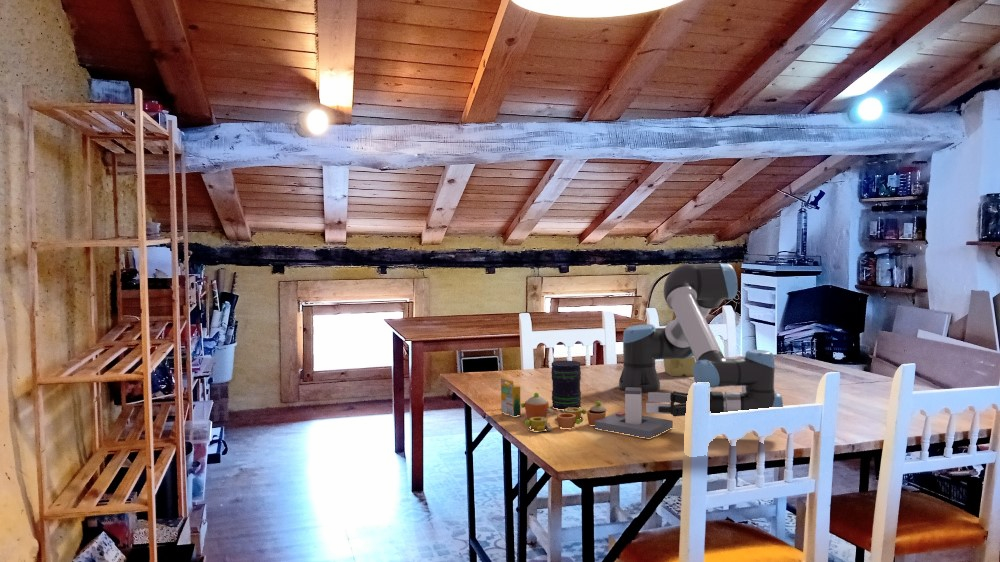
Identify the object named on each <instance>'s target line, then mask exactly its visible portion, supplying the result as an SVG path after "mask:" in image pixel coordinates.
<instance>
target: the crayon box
mask: <svg viewBox="0 0 1000 562" xmlns="http://www.w3.org/2000/svg"><path fill="white" fill-rule="evenodd" d="M505 382H506V383H505ZM500 387H501V389H500V390H501V392H500V396H501V398H500V399H501V400H500V401H501V403H500V404H501V405H500V406H501V408H500V409H501V412H504V413H506V414H509V415H512V416H517V415H521V386H520V385H515V384H514V381H512V380H508V379H506V378H505V379H504V378H503V377H502V378H500Z"/></svg>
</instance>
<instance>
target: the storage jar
mask: <svg viewBox="0 0 1000 562" xmlns="http://www.w3.org/2000/svg"><path fill="white" fill-rule="evenodd" d="M581 369H582V368H581V362H580V361H576V360H557V361H552V362H551V372H550V373H551V381H552V391H551V401H552V402H551V403H552V405H551V407H552V406H553V407H554V408H558V409H566V408H568V407H569V408H579V407H581V408H582V405H581V404H582V391H581V379H582V376H581V375H582V371H581Z"/></svg>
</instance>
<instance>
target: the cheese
mask: <svg viewBox="0 0 1000 562" xmlns="http://www.w3.org/2000/svg"><path fill="white" fill-rule="evenodd" d="M695 362H696V359H695V357H694V355H693V356H692V357H690V358H684V359H679V358H678V359H663V367H664V372H665V373H667V375H669V376H670V377H682V376H686V377H694V375H693V366H694V363H695Z"/></svg>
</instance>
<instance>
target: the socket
mask: <svg viewBox="0 0 1000 562" xmlns="http://www.w3.org/2000/svg"><path fill="white" fill-rule="evenodd" d="M673 421H674V420H671V419H666V418H659V417H655V416H654V417H653V416H647V415H642V423H641V424H639V425H634V424H629V423H625V411H617V412H615V413H612V414H610V415H607V416H605V418H603V419H599V420H596V421H594V423H595V427H594V429H595V428H598V429H602V430H608V431H614V432H619V433H624V434H630V435H634V436H639V437H645V438H651V437H653V436H656V435H658V434H660V433H662V432H664V431H666V430H668V429H670V428H673V425H674V424H673V423H674V422H673ZM673 429H674V428H673Z"/></svg>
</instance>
